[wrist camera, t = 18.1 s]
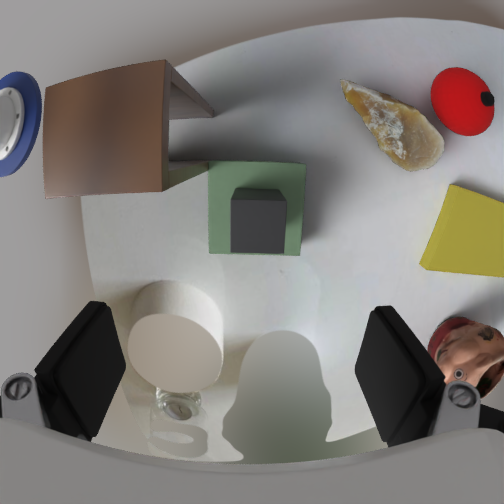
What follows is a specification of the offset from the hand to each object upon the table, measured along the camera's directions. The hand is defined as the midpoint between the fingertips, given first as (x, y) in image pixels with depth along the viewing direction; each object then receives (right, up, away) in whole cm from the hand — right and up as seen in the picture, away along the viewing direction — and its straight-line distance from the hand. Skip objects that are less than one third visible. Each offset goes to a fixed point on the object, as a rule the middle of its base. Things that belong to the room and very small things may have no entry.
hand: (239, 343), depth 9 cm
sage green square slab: (+1, +9, +23) cm, 25 cm away
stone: (+16, +19, +20) cm, 32 cm away
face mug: (+37, -12, +31) cm, 50 cm away
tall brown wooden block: (-8, +16, +21) cm, 27 cm away
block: (+1, +8, +20) cm, 22 cm away
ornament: (+26, +23, +18) cm, 40 cm away
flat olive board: (+37, +6, +25) cm, 45 cm away
